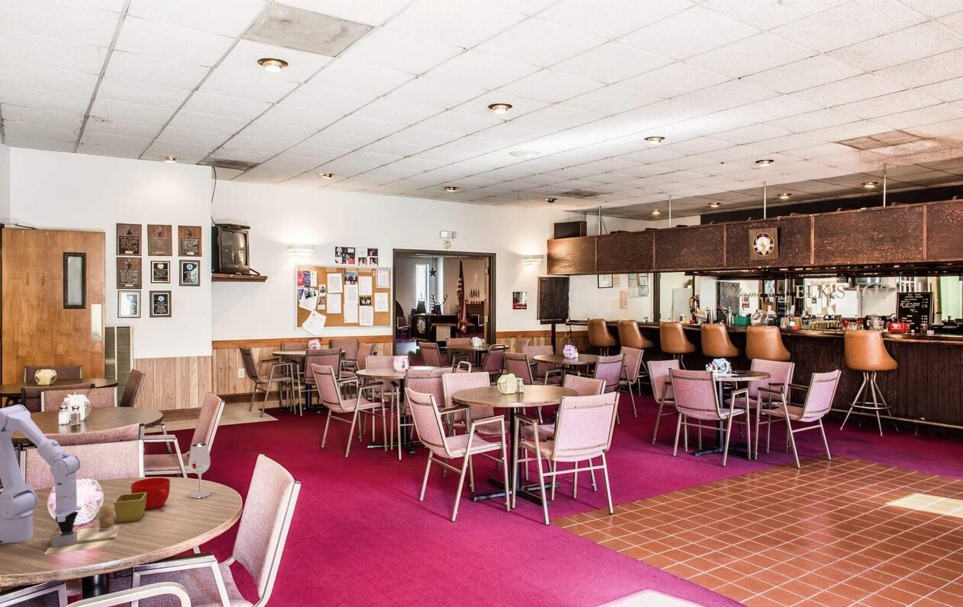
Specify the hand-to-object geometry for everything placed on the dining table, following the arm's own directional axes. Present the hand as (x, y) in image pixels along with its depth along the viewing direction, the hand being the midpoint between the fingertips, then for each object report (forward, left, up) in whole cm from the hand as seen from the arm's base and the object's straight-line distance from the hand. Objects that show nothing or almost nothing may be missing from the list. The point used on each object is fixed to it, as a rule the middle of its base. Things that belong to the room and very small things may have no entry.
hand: (67, 536), depth 214 cm
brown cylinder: (+10, +7, -1) cm, 12 cm away
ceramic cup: (+22, +27, -3) cm, 35 cm away
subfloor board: (+5, 0, -3) cm, 6 cm away
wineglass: (+37, +40, -3) cm, 54 cm away
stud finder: (0, -3, -1) cm, 3 cm away
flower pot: (+16, +16, -3) cm, 23 cm away
